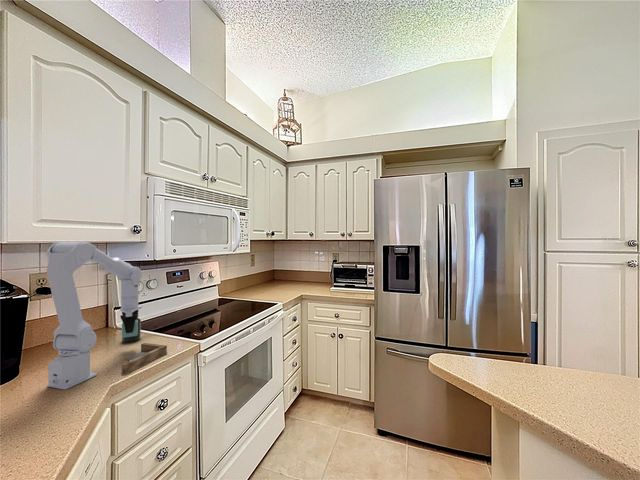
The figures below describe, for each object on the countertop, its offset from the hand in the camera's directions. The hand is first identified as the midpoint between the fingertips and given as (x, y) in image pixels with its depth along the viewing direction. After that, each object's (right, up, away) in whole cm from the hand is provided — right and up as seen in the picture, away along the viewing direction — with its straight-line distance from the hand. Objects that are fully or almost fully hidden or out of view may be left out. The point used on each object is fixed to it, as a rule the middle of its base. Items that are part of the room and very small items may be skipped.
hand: (129, 330), depth 111 cm
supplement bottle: (-8, -9, +13) cm, 17 cm away
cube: (0, -2, 0) cm, 2 cm away
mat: (+7, -8, -5) cm, 12 cm away
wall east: (+10, -8, -1) cm, 13 cm away
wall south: (+12, -9, -10) cm, 18 cm away
